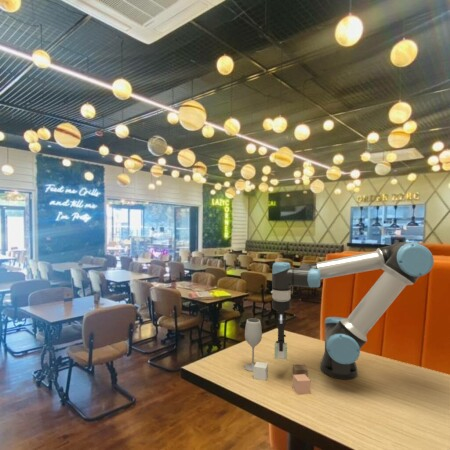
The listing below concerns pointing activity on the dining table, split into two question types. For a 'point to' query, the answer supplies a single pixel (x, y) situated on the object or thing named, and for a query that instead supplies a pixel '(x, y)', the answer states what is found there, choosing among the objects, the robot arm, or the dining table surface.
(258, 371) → the white cube
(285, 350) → the sage cube
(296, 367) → the walnut cube
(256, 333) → the wineglass
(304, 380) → the terracotta cube
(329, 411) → the dining table surface
